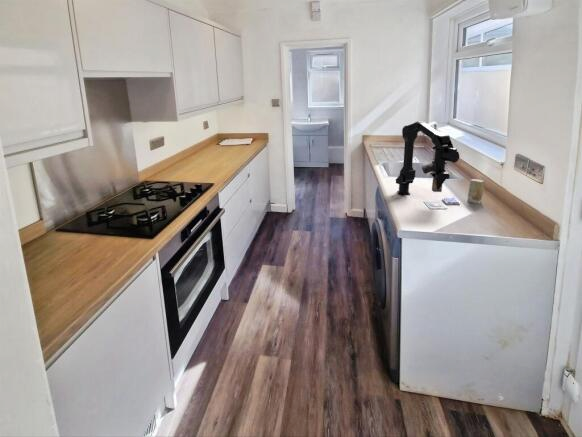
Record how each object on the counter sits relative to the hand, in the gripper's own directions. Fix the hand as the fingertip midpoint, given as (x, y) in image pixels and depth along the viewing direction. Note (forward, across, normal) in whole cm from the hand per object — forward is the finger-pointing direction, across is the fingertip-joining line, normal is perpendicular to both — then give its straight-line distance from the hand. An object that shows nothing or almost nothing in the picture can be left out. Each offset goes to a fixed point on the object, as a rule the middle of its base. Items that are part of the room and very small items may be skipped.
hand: (436, 188), depth 220 cm
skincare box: (+10, -7, +23) cm, 26 cm away
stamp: (+1, 0, 0) cm, 1 cm away
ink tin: (+10, -6, +10) cm, 15 cm away
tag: (+10, 0, 0) cm, 10 cm away
